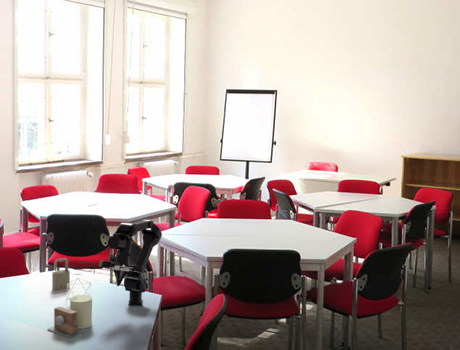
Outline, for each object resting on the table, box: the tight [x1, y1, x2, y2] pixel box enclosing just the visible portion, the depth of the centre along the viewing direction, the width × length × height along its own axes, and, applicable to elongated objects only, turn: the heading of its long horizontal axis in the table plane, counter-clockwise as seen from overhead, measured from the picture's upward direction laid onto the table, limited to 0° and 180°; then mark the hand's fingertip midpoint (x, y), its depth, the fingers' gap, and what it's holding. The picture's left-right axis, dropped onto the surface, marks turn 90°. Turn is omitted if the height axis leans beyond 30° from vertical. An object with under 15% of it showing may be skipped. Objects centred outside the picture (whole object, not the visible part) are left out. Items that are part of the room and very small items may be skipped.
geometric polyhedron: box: [66, 277, 92, 301], centre depth 276 cm, size 12×11×9 cm
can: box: [69, 294, 93, 330], centre depth 246 cm, size 9×9×12 cm
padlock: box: [51, 257, 71, 290], centre depth 292 cm, size 4×8×15 cm, turn 133°
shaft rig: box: [47, 306, 83, 339], centre depth 238 cm, size 8×13×9 cm, turn 57°
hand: (117, 286), depth 258 cm, fingers closed
